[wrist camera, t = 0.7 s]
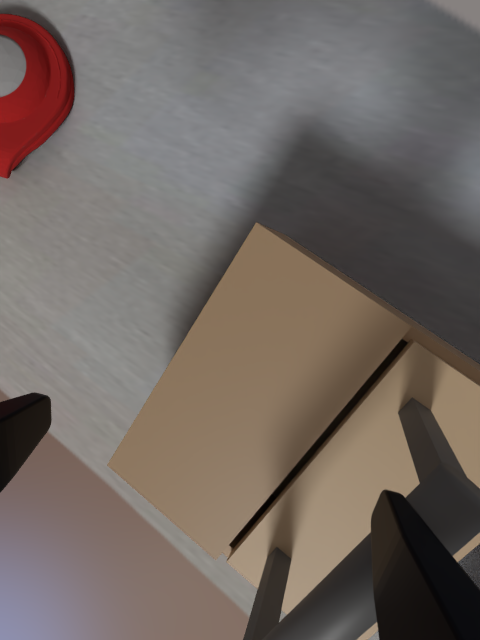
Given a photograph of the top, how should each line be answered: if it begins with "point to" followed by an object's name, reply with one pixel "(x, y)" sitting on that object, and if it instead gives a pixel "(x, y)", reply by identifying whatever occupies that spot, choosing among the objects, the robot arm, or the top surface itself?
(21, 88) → the tracker holder
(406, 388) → the carton flap
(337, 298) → the kraft carton
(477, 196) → the top surface
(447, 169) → the top surface
